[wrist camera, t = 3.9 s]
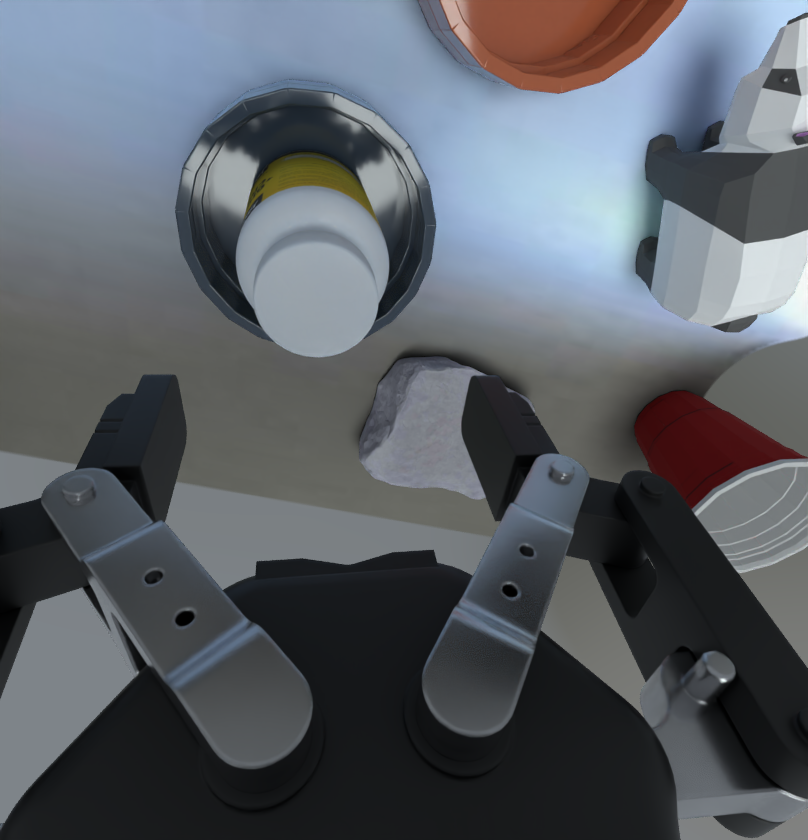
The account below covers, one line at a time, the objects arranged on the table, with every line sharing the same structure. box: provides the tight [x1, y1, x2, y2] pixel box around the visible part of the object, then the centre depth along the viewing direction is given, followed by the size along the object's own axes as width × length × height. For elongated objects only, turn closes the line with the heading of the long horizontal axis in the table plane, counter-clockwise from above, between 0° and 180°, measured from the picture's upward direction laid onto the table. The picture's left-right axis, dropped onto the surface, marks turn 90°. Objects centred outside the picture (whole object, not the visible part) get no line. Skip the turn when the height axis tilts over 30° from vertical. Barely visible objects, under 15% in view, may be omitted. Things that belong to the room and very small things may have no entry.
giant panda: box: [636, 13, 808, 332], centre depth 27 cm, size 15×6×10 cm, turn 10°
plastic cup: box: [634, 391, 808, 573], centre depth 38 cm, size 11×11×12 cm
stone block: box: [359, 356, 535, 499], centre depth 38 cm, size 12×5×10 cm
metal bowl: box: [175, 79, 436, 342], centre depth 27 cm, size 12×12×4 cm
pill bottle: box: [236, 150, 389, 357], centre depth 24 cm, size 6×6×12 cm
